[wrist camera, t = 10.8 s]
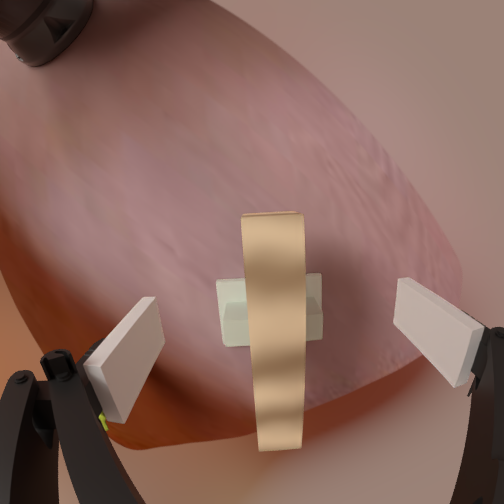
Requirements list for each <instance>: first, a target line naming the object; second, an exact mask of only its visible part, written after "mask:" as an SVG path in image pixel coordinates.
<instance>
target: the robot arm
mask: <svg viewBox="0 0 504 504" xmlns="http://www.w3.org/2000/svg"><path fill="white" fill-rule="evenodd" d="M92 7H93V1H92V0H0V39H1V40H3V41H5V42H6V43H7V44H8V46H9V47H10V48H11V50H12V51H13V52H14V53H15V54H16V57H17V58H18V60H19V61H21V62H22V63H25V64H27V65H29V66H39V65H42V64H44V63H46V62H48V61H50V60H52V59H53V58H55V57H56V56H57V55H59V54H60V53H61V52H62V51H63V50H64V49H66V48H67V47H68V46H69V45H70V44H71V43H72V41H73V40H74V39H75V38H76V37H77V36H78V34H79V33H80V32H81V30H82V29H83V28H84V26H85V24H86V23H87V21H88V19H89V17H90V15H91V12H92ZM393 324H394V325H395V326H396V327H397V328H398V329H399V330H400V331H401V332H402V333H403V334H404V335H405V336H406V337H407V338H408V339H409V340H410V341H411V342H412V343H413V344H414V345H415V346H416V347H417V348H418V349H419V350H420V352H421V353H422V354H423V355H424V356H425V357H426V358H427V359H428V360H429V361H430V362H431V363H432V364H433V365H434V366H435V368H436V369H437V370H438V371H439V372H440V373H441V374H442V375H443V376H444V377H445V378H446V379H447V381H448V382H449V383H450V384H451V385H452V386H453V387H454V388H455V387H458V386H461V385H463V384H465V383H467V380H468V378H469V375H470V372H472V373H474V374H475V378H474V380H473V383H472V385H471V388H470V390H469V393H468V395H467V396H468V397H469V396H470V394H471V393H472V398H471V408H470V417H469V424H468V431H467V437H466V443H465V448H464V453H463V457H462V463H461V466H460V470H459V475H458V478H457V482H456V485H455V489H454V492H453V496H452V498H451V501H450V504H504V328H503V327H495V328H492V329H491V330H490V329H489V328H487V327H486V326H485V325H483V324H482V323H480V322H479V321H477V320H475V319H474V318H473V317H471V316H469V315H468V314H467V313H465V312H464V311H462V310H460V309H458V308H457V307H455V306H453V305H452V304H450V303H449V302H447V301H446V300H444V299H443V298H441V297H440V296H438V295H437V294H435V293H433V292H432V291H430V290H429V289H427V288H426V287H424V286H422V285H421V284H419V283H418V282H416V281H414V280H413V279H411V278H409V277H407V278H399V279H398V284H397V295H396V304H395V312H394V320H393ZM164 343H165V339H164V334H163V329H162V325H161V320H160V315H159V310H158V304H157V299H156V297H143V298H142V299H141V300H140V301H139V302H138V303H137V304H136V305H135V306H134V307H133V308H132V310H131V311H130V312H129V313H128V314H127V315H126V316H125V317H124V318H123V319H122V321H121V322H120V323H119V324H118V325H117V326H116V327H115V328H114V329H113V331H112V332H111V333H110V334H109V335H108V336H107V337H106V338H102V339H101V340H99V341H97V342H96V343H94V344H93V345H92V346H91V348H90V349H89V350H88V351H87V352H86V353H85V355H83V356H82V358H81V359H80V360H79V361H78V362H77V363H76V364H75V363H74V360H73V357H72V355H71V353H70V351H68V350H66V349H58V350H53V351H50V352H48V353H47V354H45V355H44V356H43V357H42V358H41V360H40V363H41V365H42V368H43V370H44V372H45V375H46V377H47V379H48V381H37V380H36V378H35V376H34V374H33V372H31V371H29V370H23V371H18V372H15V373H14V374H13V375H12V376H11V377H10V378H9V380H8V382H7V384H6V387H5V389H4V392H3V394H2V397H1V400H0V504H59V493H58V451H59V441H60V445H61V449H62V452H63V456H64V459H65V463H66V466H67V470H68V472H69V475H70V479H71V482H72V484H73V487H74V490H75V493H76V495H77V498H78V500H79V503H80V504H146V503H145V502H144V500H143V498H142V497H141V495H140V494H139V492H138V491H137V489H136V487H135V486H134V484H133V482H132V481H131V479H130V477H129V476H128V474H127V472H126V470H125V469H124V467H123V465H122V463H121V461H120V459H119V458H118V456H117V454H116V452H115V450H114V448H113V446H112V444H111V442H110V440H109V438H108V435H107V433H106V431H105V429H104V427H103V425H102V422H101V420H100V418H99V416H100V414H101V412H102V410H103V412H104V414H105V416H106V418H107V420H108V421H111V422H117V423H123V424H125V422H126V419H127V417H128V415H129V413H130V411H131V409H132V407H133V405H134V403H135V401H136V399H137V397H138V395H139V393H140V391H141V389H142V387H143V385H144V383H145V381H146V379H147V377H148V375H149V373H150V371H151V369H152V367H153V365H154V363H155V361H156V359H157V357H158V355H159V353H160V351H161V349H162V347H163V345H164Z"/></svg>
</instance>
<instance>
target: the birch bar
mask: <svg viewBox="0 0 504 504" xmlns="http://www.w3.org/2000/svg"><path fill="white" fill-rule="evenodd" d="M241 228H242V243H243V257H244V271H245V284H246V298H247V311H248V324H249V337H250V350H251V362H252V375H253V387H254V399H255V411H256V422H257V433H258V443H259V444H258V445H259V451H274V450H286V449H296V448H301V444H302V428H303V412H304V390H305V358H306V268H305V235H304V214H301V213H298V212H294V211H285V212H267V213H251V214H243V215H242V217H241Z"/></svg>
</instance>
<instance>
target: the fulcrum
mask: <svg viewBox="0 0 504 504" xmlns="http://www.w3.org/2000/svg"><path fill="white" fill-rule="evenodd" d="M216 287H217V296H218V305H219V314H220V322H221V330H222V338H223V344H226V347H228V346H250V337H249V324H248V311H247V298H246V284H245V278H236V279H219V280H217V281H216ZM322 338H323V312H322V275H321V273H309V274H306V341H312V340H321V339H322Z"/></svg>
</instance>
